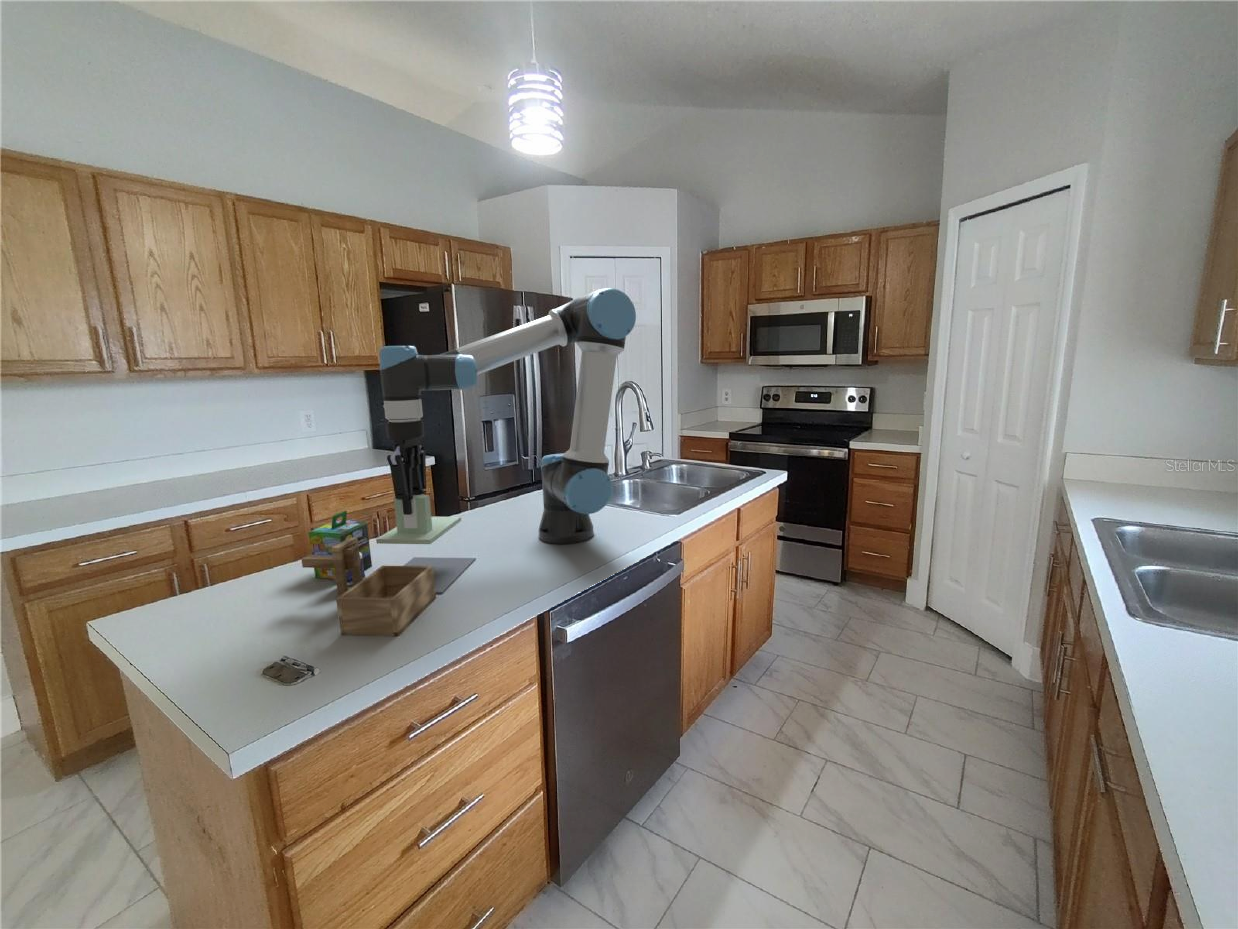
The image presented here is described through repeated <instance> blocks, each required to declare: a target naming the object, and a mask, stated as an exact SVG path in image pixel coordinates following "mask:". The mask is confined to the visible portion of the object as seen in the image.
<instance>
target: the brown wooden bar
mask: <svg viewBox="0 0 1238 929" xmlns="http://www.w3.org/2000/svg"><path fill="white" fill-rule="evenodd" d="M343 556H344V564H345V568H355V567H357V566H358V565H360V564H361V561H360V553H359V546H349V547H347V548H345V549H344V550H343ZM300 559H301V566H302V568H308V569H309V568H311V569H312V568H313V569H314V568H334V563H333V556H332V555H312V554H308V555H306V556H304V557H303V558H300Z"/></svg>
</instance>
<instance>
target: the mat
mask: <svg viewBox="0 0 1238 929" xmlns="http://www.w3.org/2000/svg"><path fill="white" fill-rule="evenodd" d="M476 560H477V557H427V556H426V557H425V556H424V557H413V558H411V559H410V560H409V561H408V562H406V563H404V564H403V566H433V572H434V582H435V592H436V595H443V594H444V593H445V592H446V591H447V590H448V589H449V588H450V586H452V585H453V583H455V582H456V581H457V580H458V579H459V577H460V576H461V575H463V573H464V572H466V571H467V569H468V568H469V567H470V566H471V565H472V564H473V563H475V561H476Z"/></svg>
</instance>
